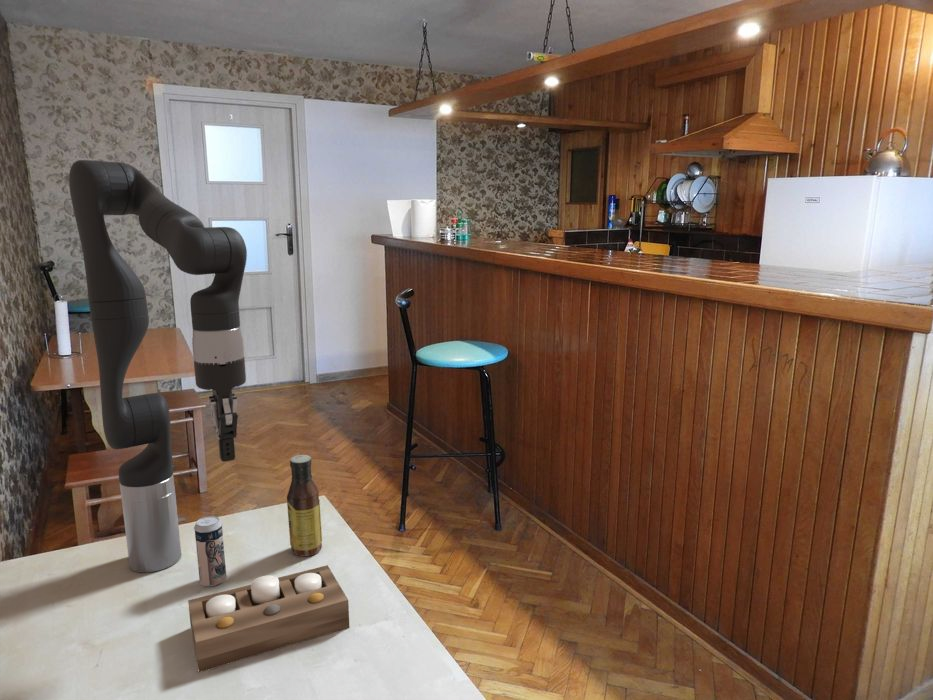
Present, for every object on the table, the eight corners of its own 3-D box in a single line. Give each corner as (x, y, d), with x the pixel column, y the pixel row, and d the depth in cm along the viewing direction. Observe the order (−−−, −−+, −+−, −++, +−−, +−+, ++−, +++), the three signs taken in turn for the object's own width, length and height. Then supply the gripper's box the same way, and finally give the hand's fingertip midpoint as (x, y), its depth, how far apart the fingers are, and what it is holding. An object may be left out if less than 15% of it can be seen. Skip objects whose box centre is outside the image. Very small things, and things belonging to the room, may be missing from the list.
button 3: (292, 592, 112) (291, 576, 112) (318, 586, 114) (317, 570, 114) (299, 606, 108) (298, 589, 108) (325, 598, 110) (324, 582, 110)
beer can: (217, 589, 118) (212, 528, 115) (193, 586, 119) (187, 525, 116) (232, 575, 122) (227, 516, 120) (209, 572, 123) (203, 513, 121)
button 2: (250, 596, 109) (248, 579, 108) (276, 589, 111) (275, 573, 110) (254, 609, 105) (253, 593, 104) (282, 602, 107) (281, 585, 106)
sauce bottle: (298, 541, 135) (292, 450, 131) (327, 543, 134) (322, 451, 130) (285, 558, 129) (278, 462, 124) (315, 560, 128) (310, 464, 124)
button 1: (205, 615, 106) (204, 599, 105) (234, 608, 108) (232, 591, 107) (209, 630, 102) (207, 613, 101) (238, 622, 104) (237, 605, 103)
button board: (190, 627, 107) (188, 598, 106) (328, 590, 117) (327, 563, 116) (198, 672, 97) (195, 640, 95) (349, 627, 107) (348, 598, 106)
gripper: (189, 350, 107) (198, 450, 111) (198, 367, 96) (208, 478, 99) (237, 346, 111) (244, 443, 114) (251, 361, 99) (258, 469, 103)
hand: (227, 459), depth 107 cm, fingers closed
